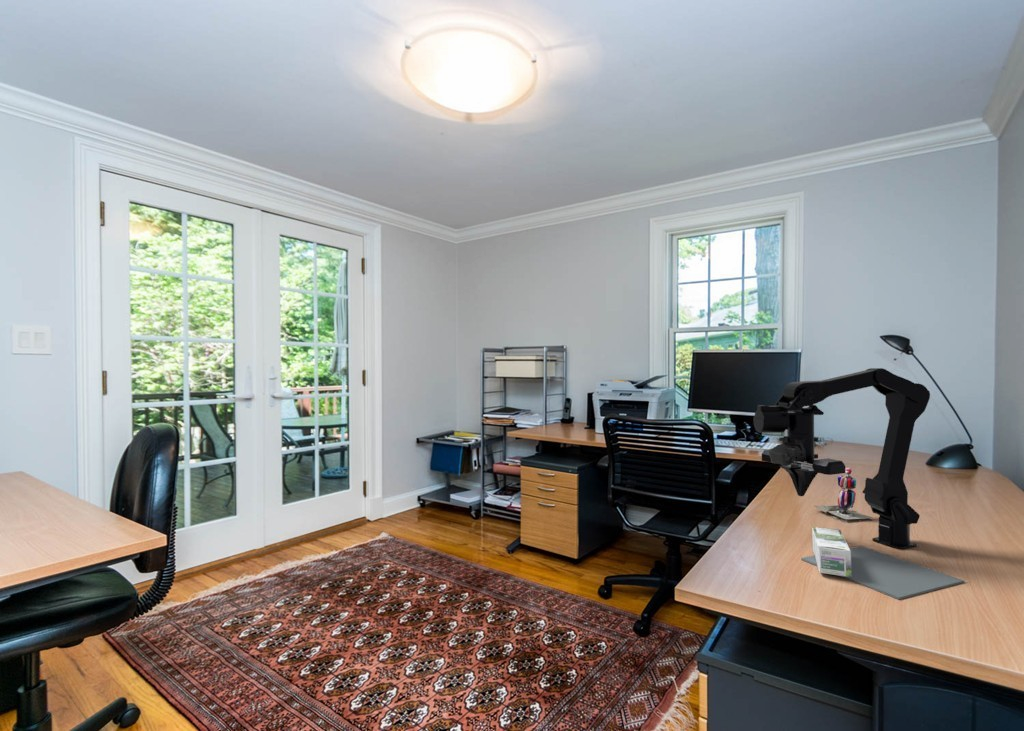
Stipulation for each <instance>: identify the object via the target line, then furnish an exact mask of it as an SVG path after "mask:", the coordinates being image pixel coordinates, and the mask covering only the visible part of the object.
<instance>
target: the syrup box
mask: <svg viewBox="0 0 1024 731" xmlns="http://www.w3.org/2000/svg"><path fill="white" fill-rule="evenodd" d="M811 527H812V528H811V529H812V530H811V533H812V551H813V554H814V555H815V558H816V561H817V566H816V567H817V569H818V572H819V573H820V574H827V575H834V576H839V577H842V576H846V577H852V575H851V551H850V547H849V545H848V543H847V541H846V539H845V536H844V534H843V532H842V530H841V529H838V528H837V529H836V528H835V529H834V528H825V527H817V526H811Z"/></svg>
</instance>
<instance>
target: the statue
mask: <svg viewBox="0 0 1024 731" xmlns="http://www.w3.org/2000/svg"><path fill="white" fill-rule="evenodd" d="M844 474H846V475H839V476H837V485H838V487H840V488H841V489H839V495H838V498H837V505H814V507H815V508H816V509H818V510H820V511H822V512H824V513H825V515H826V516H827V515H828V514H829V515H834V516H832V517H833V519H836V520H840V522H846V523H850V522H851V521H853V520H854V521H857V522H863V520H867V521H868V520H869V521H873V517H872V516H870V515H866V514H863V513H861V512H858V511H857V510H854V509H850V508H853V507H854V504H855V502H856V495H857V494H856V492H855V491H854V489H857V488H856V486H857V478H853V477H852V476H851V474H852V468H851V467H845V473H844ZM846 490H847V491H846Z"/></svg>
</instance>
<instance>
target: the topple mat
mask: <svg viewBox="0 0 1024 731" xmlns="http://www.w3.org/2000/svg"><path fill="white" fill-rule="evenodd" d="M849 548H850V547H849ZM850 551H851V575H852V577H846V576H841V577H842V578H844V579H847V580H850V581H852V582H855V583H857V584H859V585H861V586H864V587H867V588H869V589H870V590H875V591H877V592H879V593H882V594H884V595H886V596H889V597H891V598H894V599H895V600H903V599H906V598H910V597H914V596H917V595H921V594H925V593H928V592H929V593H930V592H934V591H937V590H940V589H944V588H948V587H952V586H955V585H959V584H964V583H965V579H961V578H958V577H956V576H952V575H950V574H946V573H944V572H940V571H938V570H935V569H931V568H929V567H926V566H923V565H921V564H917V563H914V562H911V561H908V560H905V559H902V558H899V557H897V556H893V555H890V554H888V553H884V552H881V551H878V550H876V549H873V548H871V547H870V548H869V547H866V546H864V545H860V546H855V547H851V548H850ZM800 559H801V561H803V562H806V563H808V564H810V565H813V566H816V567H818V566H817V561H816V558H815V554H814V555H809V556H804V557H800Z"/></svg>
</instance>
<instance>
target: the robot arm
mask: <svg viewBox="0 0 1024 731" xmlns="http://www.w3.org/2000/svg"><path fill="white" fill-rule="evenodd" d="M869 387H872V388H874V390H876V392H878V393H879V394H880V395H883V396H884V397H885V403H884V404H885V407H886V411H887V413H888V416H889V418H888V423H887V428H886V432H885V433H886V434H885V438H884V443H883V448H882V453H881V457H880V462H879V467H878V472H877V474H875V476H874V477H873V478H870V477H866V478H865V484H864V485H865V486H864V488H863V491H862V494H864V501H865V502H866V504H868V506H870V509H871V512H872V513H873V514H877V515H878V528H877V529H878V537H872V541H874V542H877V543H880V544H883V545H886V546H888V547H892V548H896V549H899V550H901V549H902V550H903V549H907V548H912V547H917V546H918V543H917V542H914V541H911V533H910V532H911V530H910V529H911V528H910V527H911V526H910V525H911V524H914V525H915V524H918V522H919V519H920V514H919V513H918V512H917V511H916V510H915V509H914V508H913V507H912V506H910V505H909V503H908V502H909V493H908V492H909V491H908V489H907V487H906V483H905V481H904V476H905V471H906V468H907V463H908V462H907V461H908V456H909V452H910V446H911V441H912V437H913V432H914V428H915V423H916V421H917V420H918V419H919V417H920V416H922V414H924V412H925V411H926V408H927V406H928V404H929V402H930V398H931V393H930V390H929V389H928V388H927V387H926V386H925V385H924V384H921V383H915V382H913V381H911V380H909V379H907V378H904V377H902V376H900V375H896V374H894V373H892V372H891V371H889V370H887V368H883V367H880V368H876V367H875V368H874V367H873V368H872V367H870V368H867V369H865V370H861V371H858V372H853V373H847V374H844V375H839V376H836V377H832V378H827V379H822V380H807V381H806V380H804V381H792V382H789V383H787V384H786V385H785V386H784V388H783V391H782V395H781V396H780V397H779V398H778V399H777V401H776V402H775V404H774V405H763V404H757V406H756V407H757V408H756V409H757V410H756V411H755V413H754V416H753V426H754V429H755V432H757V433H767V434H768V433H771V434H772V433H773V434H774V433H776V434H779V433H780V434H782V433H784V432H785V431H786V432H787V433H786V434H787V435H783V437H782V443H780V444H778V445H775V446H774V447H772V448H770V449H764V450H763V451H762V453H761V461H762V462H767V463H772V464H774V465H775V464H777V465H780V466H779V467H780V468H781V469H783V470H785V471H786V472H787V473H788V474H789V476H790V479H791V481H792V483H793V486H794V488H795V491H796V493H797V496H799V497H804V496H805V494H806V493H807V491H808V490H809V487H810V485H811V484H812V482H813V481H814V479H815V478H816V476H817V475H818V474H822V475H829V476H830V475H840V474H846V473H845V469H846V464H845V463H844V462H843V461H842V460H837V459H833V458H820V459H819V453H815V443H816V442H817V443H818V442H819V437H817V436H815V416H823V415H824V411H823V410H822V409H820V408H818V406H817V405H816V404H818V403H820V402H823V401H824V400H826V399H827V398H829V397H832V396H834V395H838V394H844V393H847V392H852V391H856V390H860V389H865V388H869Z"/></svg>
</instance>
